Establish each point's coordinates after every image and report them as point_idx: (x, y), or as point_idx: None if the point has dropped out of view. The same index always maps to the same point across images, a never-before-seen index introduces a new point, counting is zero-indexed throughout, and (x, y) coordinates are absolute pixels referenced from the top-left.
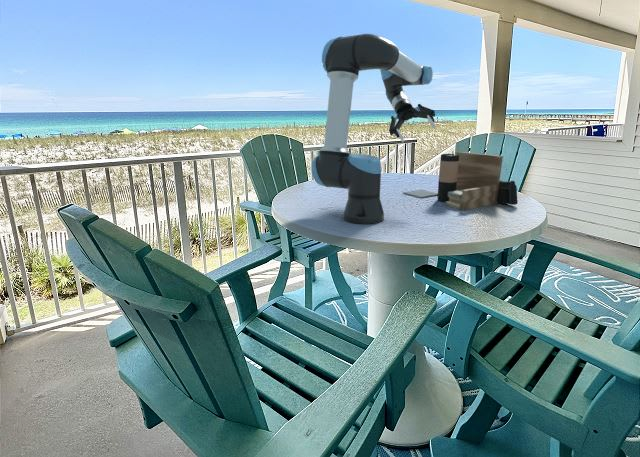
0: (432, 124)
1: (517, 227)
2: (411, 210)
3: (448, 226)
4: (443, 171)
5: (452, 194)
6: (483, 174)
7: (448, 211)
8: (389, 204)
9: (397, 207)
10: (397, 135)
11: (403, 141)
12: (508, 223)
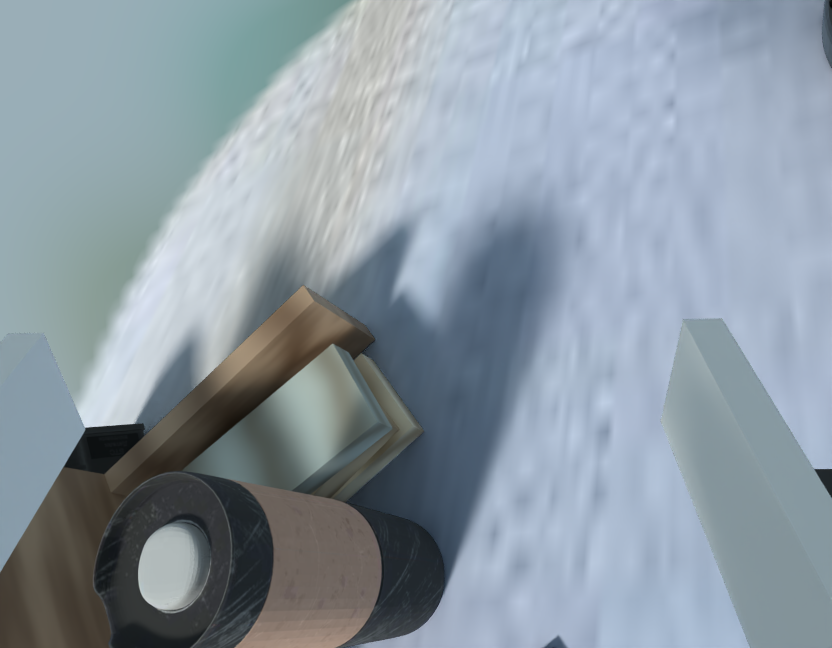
0: (43, 351)
1: (264, 128)
2: (648, 269)
3: (494, 51)
4: (317, 510)
5: (364, 392)
6: (84, 554)
7: (441, 293)
8: (824, 407)
9: (749, 326)
10: (825, 473)
11: (672, 407)
12: (270, 166)
